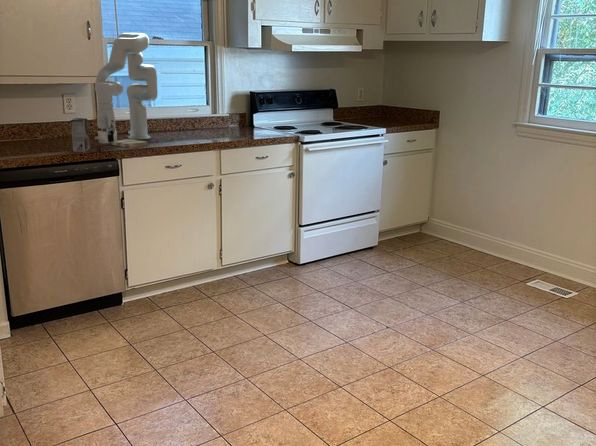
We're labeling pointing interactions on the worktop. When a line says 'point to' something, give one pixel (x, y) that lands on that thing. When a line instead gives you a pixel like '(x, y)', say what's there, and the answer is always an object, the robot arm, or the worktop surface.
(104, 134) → the connector
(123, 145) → the maple board
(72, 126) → the coffee box
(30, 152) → the worktop surface
